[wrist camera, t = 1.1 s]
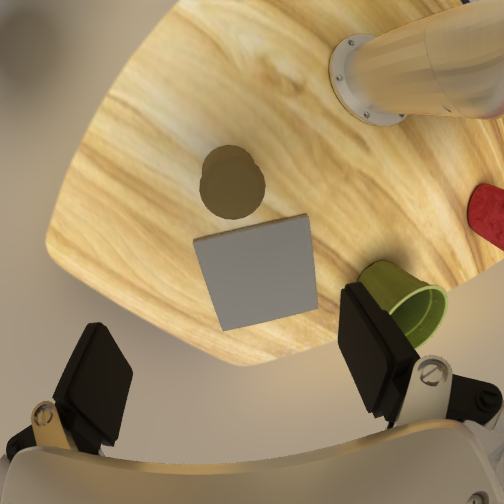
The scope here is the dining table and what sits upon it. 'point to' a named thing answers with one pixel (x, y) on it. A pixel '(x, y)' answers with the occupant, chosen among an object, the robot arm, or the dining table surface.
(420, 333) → the plant pot
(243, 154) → the brown pawn
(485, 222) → the wine bottle
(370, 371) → the robot arm
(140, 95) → the dining table surface
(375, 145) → the dining table surface
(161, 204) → the dining table surface
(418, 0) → the dining table surface
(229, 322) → the tile
